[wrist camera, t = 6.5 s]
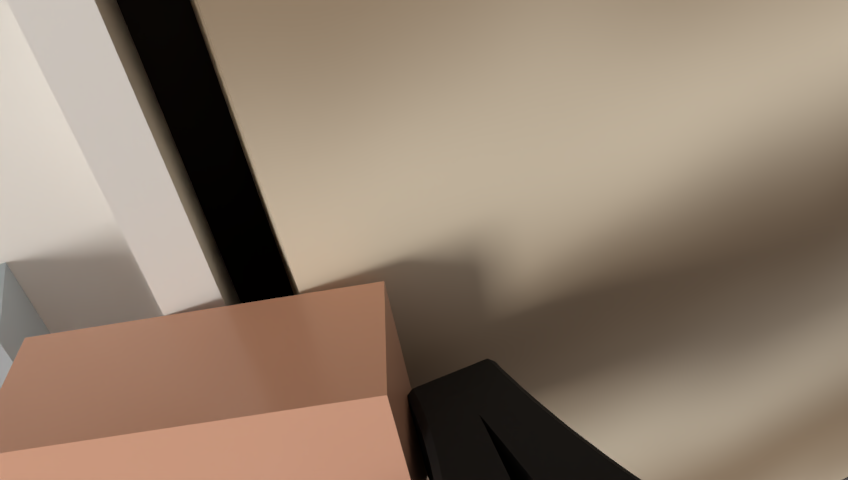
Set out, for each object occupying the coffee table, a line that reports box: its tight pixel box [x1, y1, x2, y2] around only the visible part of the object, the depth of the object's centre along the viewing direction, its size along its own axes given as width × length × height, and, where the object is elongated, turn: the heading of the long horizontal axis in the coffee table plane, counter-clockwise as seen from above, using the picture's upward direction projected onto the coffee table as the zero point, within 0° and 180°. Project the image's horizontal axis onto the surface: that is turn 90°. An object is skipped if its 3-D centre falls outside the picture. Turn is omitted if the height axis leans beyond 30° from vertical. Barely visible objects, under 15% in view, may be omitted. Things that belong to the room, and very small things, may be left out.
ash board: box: [190, 0, 848, 480], centre depth 15 cm, size 18×16×4 cm
